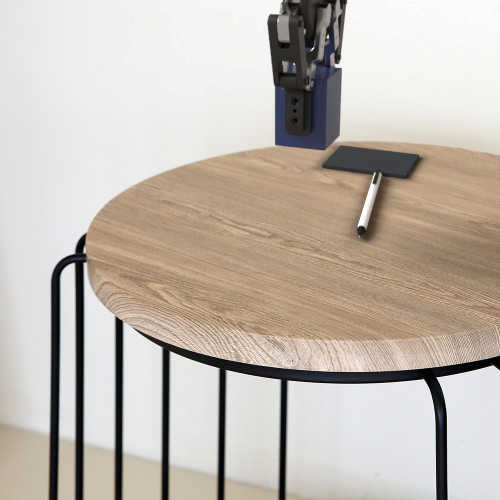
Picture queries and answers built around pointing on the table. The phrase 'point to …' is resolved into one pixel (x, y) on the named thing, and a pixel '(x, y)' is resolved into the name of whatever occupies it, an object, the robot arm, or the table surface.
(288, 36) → the robot arm
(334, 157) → the mat
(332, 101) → the block
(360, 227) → the pen
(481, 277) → the table surface
